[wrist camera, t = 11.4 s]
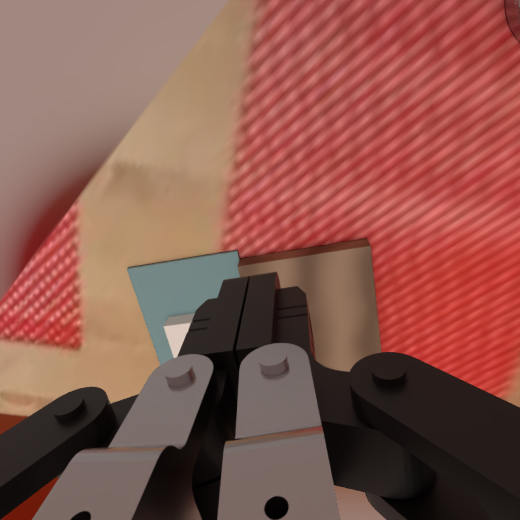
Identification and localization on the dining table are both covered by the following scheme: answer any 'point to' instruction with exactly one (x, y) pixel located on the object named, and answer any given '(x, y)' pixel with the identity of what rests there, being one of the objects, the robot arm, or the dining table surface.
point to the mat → (178, 290)
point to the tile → (177, 331)
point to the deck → (330, 296)
